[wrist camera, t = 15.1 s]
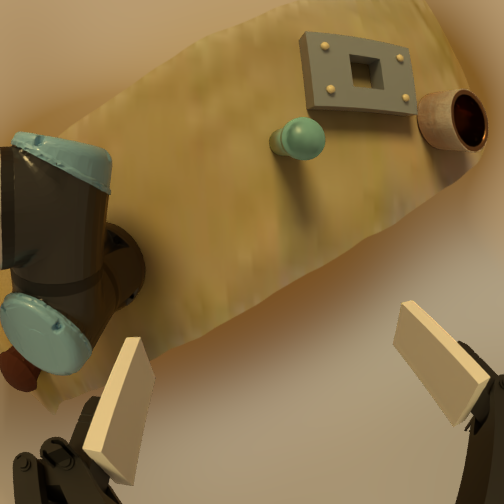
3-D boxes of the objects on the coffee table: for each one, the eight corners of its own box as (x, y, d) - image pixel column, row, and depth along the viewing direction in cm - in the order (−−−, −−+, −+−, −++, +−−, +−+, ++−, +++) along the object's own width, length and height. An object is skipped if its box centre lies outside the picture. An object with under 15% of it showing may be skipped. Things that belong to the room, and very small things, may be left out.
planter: (451, 157, 42) (485, 162, 33) (411, 138, 41) (446, 139, 32) (457, 107, 39) (490, 105, 30) (417, 84, 37) (451, 76, 28)
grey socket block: (306, 109, 38) (315, 105, 34) (298, 40, 34) (306, 29, 30) (404, 116, 39) (419, 114, 35) (396, 53, 35) (410, 47, 31)
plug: (267, 159, 40) (284, 161, 29) (265, 127, 39) (280, 117, 28) (299, 157, 41) (326, 159, 30) (296, 126, 39) (323, 117, 28)
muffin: (8, 349, 48) (-10, 372, 39) (17, 328, 46) (-5, 352, 37) (41, 380, 52) (26, 405, 42) (53, 361, 50) (36, 389, 40)
